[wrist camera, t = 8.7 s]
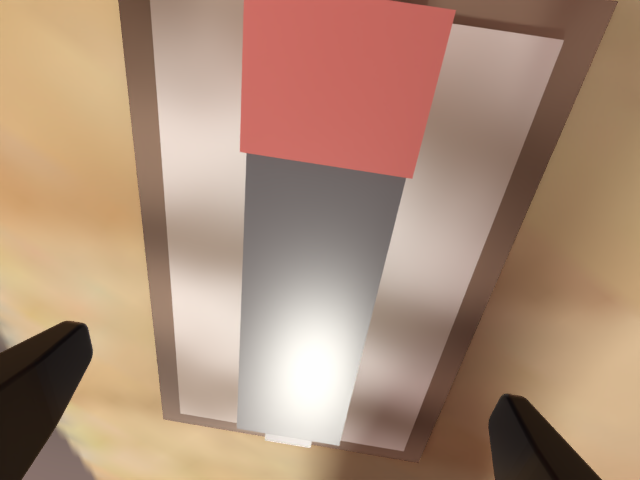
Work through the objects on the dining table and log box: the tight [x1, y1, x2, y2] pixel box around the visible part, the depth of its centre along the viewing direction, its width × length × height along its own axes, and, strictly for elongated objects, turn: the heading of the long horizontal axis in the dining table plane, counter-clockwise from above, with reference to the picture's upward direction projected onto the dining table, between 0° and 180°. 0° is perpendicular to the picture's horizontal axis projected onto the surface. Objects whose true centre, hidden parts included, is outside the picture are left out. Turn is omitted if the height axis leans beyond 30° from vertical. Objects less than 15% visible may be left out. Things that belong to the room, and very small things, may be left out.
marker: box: [237, 0, 456, 448], centre depth 13 cm, size 15×4×4 cm, turn 173°
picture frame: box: [118, 0, 618, 463], centre depth 15 cm, size 20×13×1 cm, turn 173°
